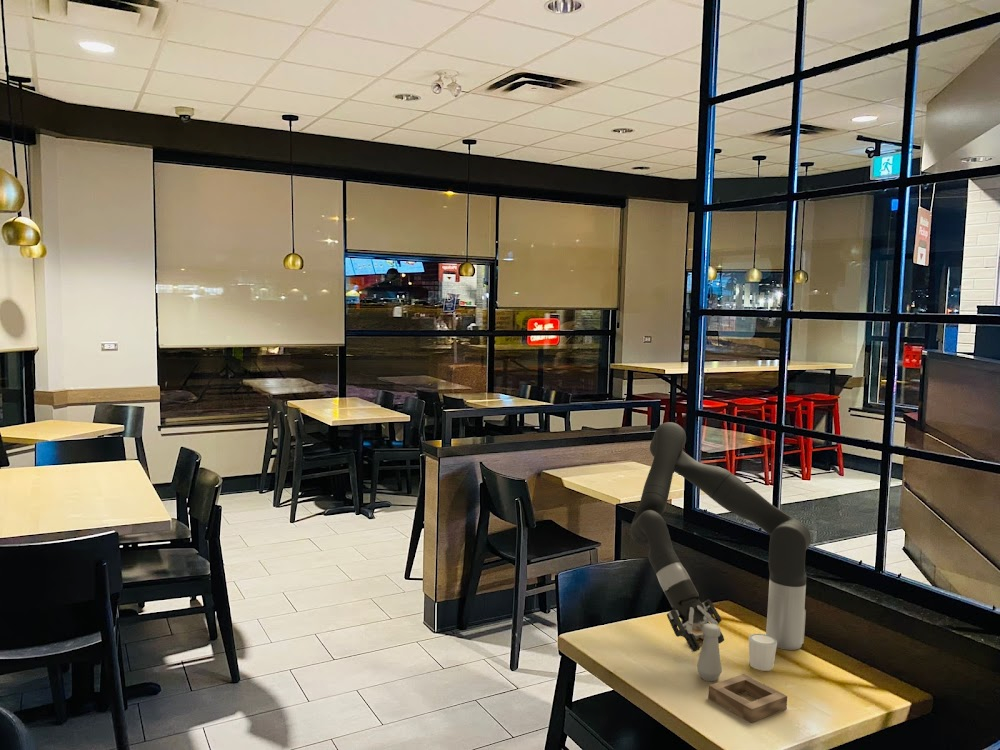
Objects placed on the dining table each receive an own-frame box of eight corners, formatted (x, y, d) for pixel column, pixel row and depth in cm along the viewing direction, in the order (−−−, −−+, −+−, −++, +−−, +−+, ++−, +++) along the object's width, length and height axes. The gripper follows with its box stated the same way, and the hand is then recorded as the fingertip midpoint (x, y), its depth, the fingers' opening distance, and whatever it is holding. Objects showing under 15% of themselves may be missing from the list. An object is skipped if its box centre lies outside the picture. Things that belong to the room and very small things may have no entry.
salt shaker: (722, 684, 177) (725, 631, 176) (697, 681, 178) (700, 628, 177) (719, 673, 183) (722, 622, 182) (695, 670, 184) (698, 619, 183)
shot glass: (776, 663, 190) (778, 636, 189) (774, 674, 184) (776, 646, 183) (748, 657, 193) (750, 631, 192) (745, 668, 186) (747, 640, 186)
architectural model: (715, 643, 201) (717, 617, 201) (695, 647, 198) (697, 620, 198) (706, 638, 204) (708, 612, 204) (686, 642, 201) (688, 616, 201)
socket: (743, 685, 177) (743, 673, 177) (786, 708, 167) (787, 695, 167) (708, 698, 170) (708, 685, 170) (751, 722, 160) (752, 709, 160)
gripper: (688, 586, 196) (719, 645, 187) (648, 596, 188) (679, 659, 179) (704, 573, 191) (738, 633, 182) (665, 583, 183) (697, 647, 174)
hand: (709, 646), depth 181 cm, fingers open, 8 cm apart
